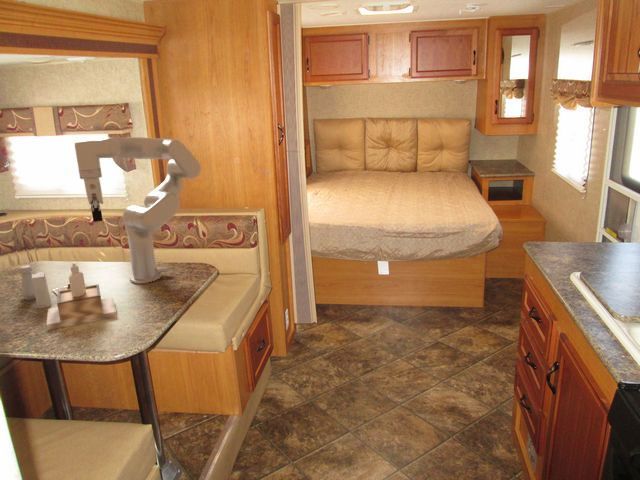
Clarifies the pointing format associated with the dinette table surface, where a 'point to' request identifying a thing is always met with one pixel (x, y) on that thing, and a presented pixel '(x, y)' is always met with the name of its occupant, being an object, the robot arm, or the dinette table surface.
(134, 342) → the dinette table surface
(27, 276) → the salt shaker
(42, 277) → the skincare box
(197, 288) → the dinette table surface
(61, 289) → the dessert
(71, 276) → the eye dropper bottle
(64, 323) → the display plinth
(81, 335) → the dinette table surface
